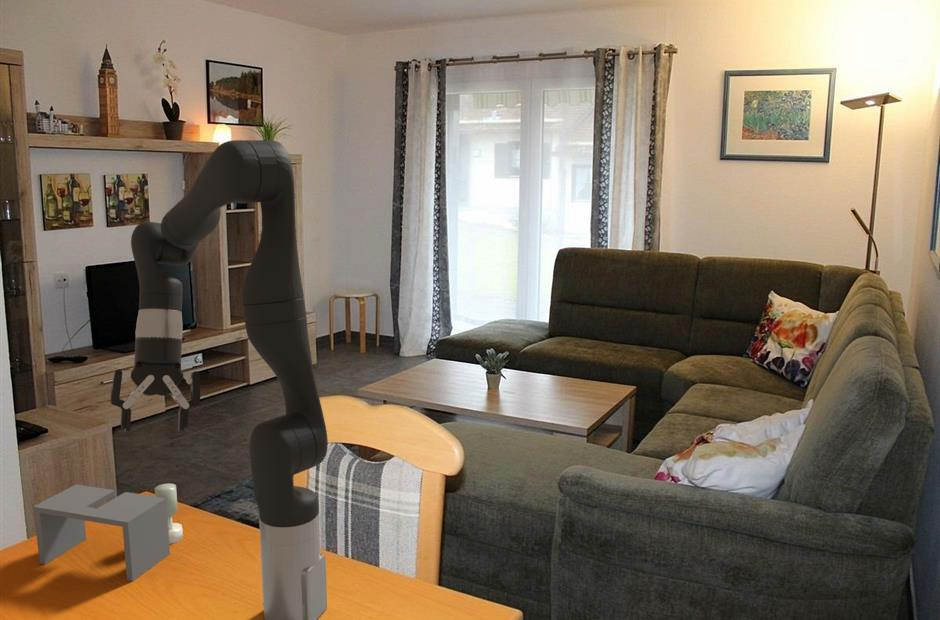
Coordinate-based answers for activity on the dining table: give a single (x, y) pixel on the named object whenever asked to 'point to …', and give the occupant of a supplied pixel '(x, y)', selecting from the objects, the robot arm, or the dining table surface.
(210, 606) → the dining table surface
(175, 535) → the wine glass
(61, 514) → the slotted rack
